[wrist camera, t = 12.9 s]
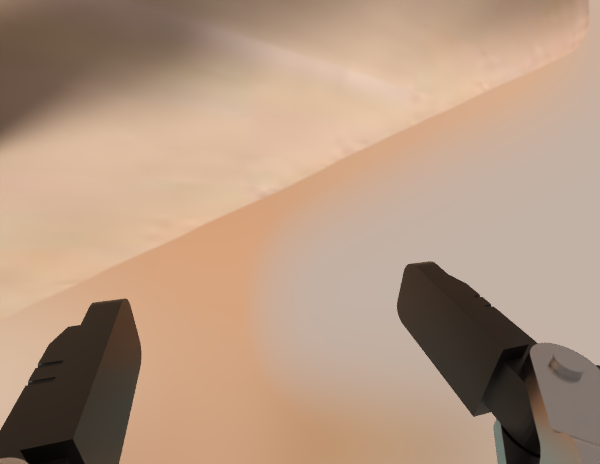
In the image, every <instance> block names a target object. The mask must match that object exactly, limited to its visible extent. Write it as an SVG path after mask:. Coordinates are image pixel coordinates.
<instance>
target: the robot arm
mask: <svg viewBox="0 0 600 464" xmlns="http://www.w3.org/2000/svg"><path fill="white" fill-rule="evenodd" d="M397 310H398V315H399V318H400V320H401V322H402V323H403V325H404V326H405V327H406V328H407V330H408V331H409V333H410V334H411V335H412V336H413V338H414V339H415V340H416V341H417V343H418V344H419V346H420V347H421V348H422V350H423V351H424V352H425V354H426V355H427V356H428V357H429V359H430V360H431V361H432V363H433V364H434V365H435V366H436V368H437V369H438V371H439V372H440V373H441V375H442V376H443V377H444V378H445V380H446V381H447V382H448V383H449V385H450V386H451V387H452V389H453V390H454V392H455V393H456V394H457V395H458V397H459V398H460V399H461V401H462V402H463V403H464V405H465V406H466V407H467V409H468V410H469V411H470V413H471V414H472V415H473V416H478V415H482V414H485V413H489V412H492V414H493V415H494V416H495V417H496V421H495V423H494V437H495V444H496V452H497V461H498V464H600V366H598V365H594V364H593V363H592V362H591V361H590V360H588V359H587V358H585V357H584V356H582V355H580V354H579V353H577V352H575V351H573V350H571V349H569V348H566V347H563V346H560V345H557V344H552V343H536V342H535V341H534V340H533V339H532V338H531V337H529V336H528V335H527V334H526V333H525V332H523V331H522V330H521V329H520V328H519V327H517V326H516V325H515V324H514V323H513V322H511V321H510V320H509V319H508V318H507V317H506V316H504V315H503V314H502V313H501V312H500V311H498V310H497V309H496V308H494V307H491V304H490V303H489V302H488V301H486V300H485V299H484V298H483V297H480V295H479V294H478V293H477V292H476V291H474V290H473V289H472V288H471V287H469V285H467V284H466V283H464V282H462V281H460V280H458V279H456V278H454V277H452V276H450V275H448V274H447V273H446V272H445V271H444V270H443V269H441V268H440V267H439V266H438V265H437V264H435V263H434V262H422V263H414V264H408V265H407V266H406V268H405V269H404V273H403V278H402V283H401V288H400V292H399V297H398V302H397ZM140 366H141V345H140V340H139V336H138V332H137V329H136V325H135V321H134V317H133V314H132V310H131V306H130V303H129V301H128V300H127V299H119V300H112V301H103V302H96V303H92V304H91V305H90V307H89V309H88V311H87V313H86V316H85V317H84V319H83V322H82V323H81V325H78V326H71V327H68V328H67V329H65V330H64V331H63V332H62V333H61V334H60V335H59V336H58V337H57V338H56V339H55V340H53V342H51V343H50V344H49V346H48V347H47V349H46V351H45V353H44V354H43V356H42V358H41V360H40V361H39V363H38V368H35V370H34V372H33V374H32V375H31V377H30V379H29V381H28V386H25V388H24V390H23V391H22V393H21V395H20V397H19V398H18V400H17V402H16V404H15V405H14V407H13V409H12V411H11V413H10V414H9V416H8V418H7V419H6V421H5V423H4V425H3V427H2V428H1V430H0V464H119V460H120V456H121V452H122V447H123V443H124V438H125V434H126V429H127V425H128V420H129V416H130V411H131V407H132V402H133V398H134V393H135V388H136V384H137V379H138V374H139V370H140Z"/></svg>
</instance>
